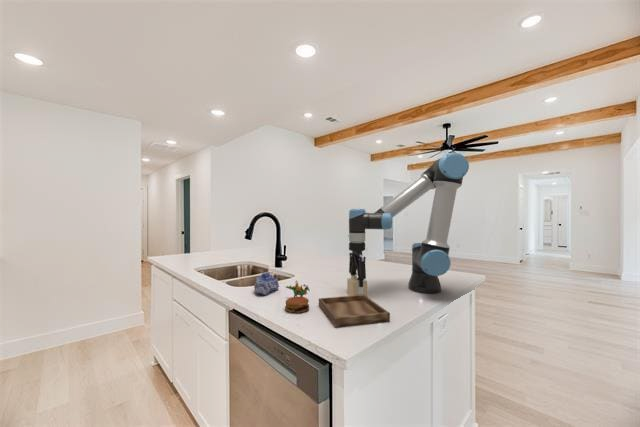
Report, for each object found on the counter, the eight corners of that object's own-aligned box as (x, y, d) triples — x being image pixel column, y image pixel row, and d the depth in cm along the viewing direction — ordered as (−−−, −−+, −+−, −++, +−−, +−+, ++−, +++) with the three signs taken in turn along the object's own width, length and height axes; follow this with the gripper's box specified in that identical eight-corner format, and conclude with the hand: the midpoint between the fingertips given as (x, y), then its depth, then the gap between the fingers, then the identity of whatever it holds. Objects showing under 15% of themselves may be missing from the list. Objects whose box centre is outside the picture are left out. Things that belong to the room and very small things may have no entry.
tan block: (361, 292, 130) (361, 277, 130) (367, 296, 123) (367, 281, 123) (347, 293, 128) (347, 278, 128) (352, 297, 122) (352, 282, 122)
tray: (363, 301, 116) (363, 294, 116) (389, 321, 95) (389, 313, 95) (318, 305, 111) (318, 298, 111) (335, 327, 90) (335, 318, 90)
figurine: (308, 301, 116) (308, 282, 116) (283, 298, 120) (283, 280, 120) (311, 299, 119) (311, 280, 119) (286, 296, 123) (286, 278, 123)
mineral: (262, 270, 138) (279, 270, 134) (264, 288, 139) (282, 288, 135) (245, 279, 124) (264, 280, 121) (248, 299, 125) (267, 300, 122)
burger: (282, 307, 109) (282, 296, 109) (303, 304, 113) (303, 293, 113) (289, 316, 100) (289, 303, 100) (312, 312, 104) (312, 300, 104)
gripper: (342, 240, 134) (342, 286, 134) (357, 244, 115) (357, 298, 115) (356, 239, 136) (356, 285, 136) (374, 244, 117) (374, 297, 117)
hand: (357, 291), depth 126 cm, fingers closed on tan block, 7 cm apart
